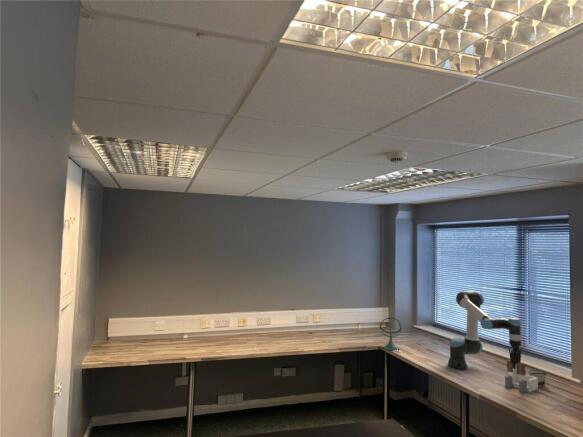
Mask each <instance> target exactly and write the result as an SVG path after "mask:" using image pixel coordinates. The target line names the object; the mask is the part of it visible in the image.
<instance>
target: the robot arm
mask: <svg viewBox="0 0 583 437" xmlns="http://www.w3.org/2000/svg"><path fill="white" fill-rule="evenodd" d="M455 301H456V303H457V304H458V306H460V307H461V308H462V309H464V310H466V335H465V336H464V338H460V337H455V338H454V337H453V338H452V339H450V341H449V359H448V362H447V366H448V368H450V367H451V369H453V368H454V369H453V370H458V369H460V370H459V371H464V370H468V364H467V361H466V358H465V357H466V355H478V354H481V353H482V350H483V344H482V342H481V340H480V338H479V336H478V334H479V333H478V332H479V330H478V329H479V328H478V327H479V322H480V326H481V328H482V329H485V330H495V329H496V330H500V329H501V330H502V329H503V330H508V338H509V339H508V342H509V345H510V349H508V352H509V360H510V362H511V363H512V364H513V373H517V364H516V362H519V363H522V362H521V361H522V350H523V349H522V348H521V346H522V341H521V340H522V333H521V331H522V328H521V326H522V325H521V319H520V318H516V317H509V318H505V317H497V318H491V317H490V316H489V315H488V314H486V313H485V312H484V311H483V310H482V309H481V306H482V305H483V304H484V302H485V299H484V296H483V294H482V293H481V291H477V290H468V291H467V290H464V291H460V292H458V293H457V294H456V296H455Z"/></svg>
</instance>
